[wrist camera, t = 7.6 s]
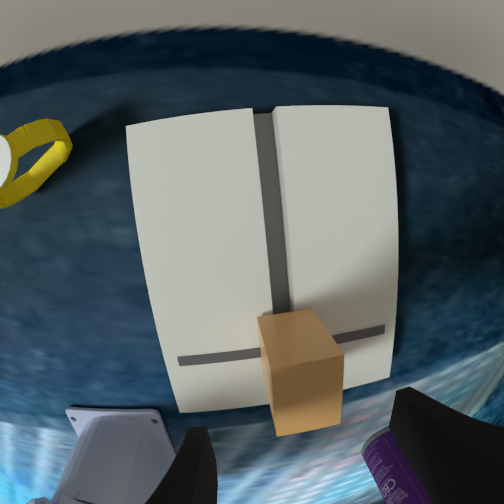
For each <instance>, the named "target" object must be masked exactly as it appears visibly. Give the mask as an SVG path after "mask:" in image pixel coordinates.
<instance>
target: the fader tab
mask: <svg viewBox="0 0 504 504" xmlns="http://www.w3.org/2000/svg"><path fill="white" fill-rule="evenodd" d="M257 323H258V332H259V341H260V350H261V359H262V368H263V377H264V382H265V386H266V391H267V395H268V400H269V404H270V408H271V413H272V417H273V421H274V426H275V430H276V434H277V437H278V436H284V435H290V434H295V433H301V432H306V431H311V430H315V429H320V428H324V427H329V426H333V425H337V424H340V423H341V410H342V396H343V379H344V353H343V352H342V350H341V349H340V347H339V346H338V345H337V343H336V342H335V340H334V339H333V337H332V336H331V335H330V333H329V332H328V330H327V329H326V328H325V326H324V325H323V323H322V322H321V320H320V319H319V318H318V316H317V315H316V313H315V312H314V311H313V309H307V310H300V311H294V312H287V313H281V314H274V315H267V316H259V317H257Z"/></svg>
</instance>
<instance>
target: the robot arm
mask: <svg viewBox="0 0 504 504" xmlns="http://www.w3.org/2000/svg"><path fill="white" fill-rule="evenodd" d="M66 414H67V416H68V418H69V420H70V422H71V424H72V426H73V427H74V429H75V431H76V433H77V435H78V437H79V438H78V441H77V443H76V445H75V447H74V449H73V451H72V454H71V456H70V458H69V460H68V463H67V465H66V467H65V469H64V472H63V474H62V476H61V479H60V481H59V483H58V486H57V488H56V491H55V493H54V495H53V498H52V500H51V501H50V500H49V499H47V498H45V497H41V498H38V499H31V500H30V501H29V502H28V503H27V504H217V489H218V480H217V466H216V459H215V455H214V452H213V448H212V445H211V441H210V438H209V434H208V430H207V427H193V428H189V429H188V430H187V432H186V435H185V437H184V440H183V442H182V444H181V446H180V448H179V450H178V452H177V454H175V452H174V449H173V447H172V444H171V442H170V439H169V436H168V434H167V431H166V429H165V426H164V423H163V421H162V418H161V415H160V413H159V412H158V411H157V410H155V409H98V408H79V407H68V408H67V409H66ZM153 419H155V420H157V421H154V420H153ZM389 428H390V430H391V433H392V435H393V437H394V439H395V441H396V444H397V446H398V447H399V449H400V451H401V452H402V454H403V455H404V457H405V458H406V460H407V461H408V463H409V464H410V466H411V467H412V469H413V470H414V472H415V474H416V475H417V477H418V478H419V480H420V481H421V483H422V484H423V486H424V488H425V490H426V492H427V494H428V496H429V498H430V500H431V502H432V504H504V427H501V426H496V425H493V424H489V423H486V422H483V421H480V420H477V419H474V418H472V417H469V416H467V415H465V414H462V413H460V412H458V411H456V410H454V409H451V408H449V407H447V406H445V405H443V404H442V403H440V402H438V401H436V400H434V399H432V398H430V397H428V396H427V395H425V394H423V393H421V392H419V391H417V390H415V389H413V388H411V387H407V388H404V389H400V390H397V391H396V396H395V401H394V406H393V411H392V415H391V420H390V425H389Z"/></svg>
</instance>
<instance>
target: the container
mask: <svg viewBox="0 0 504 504" xmlns="http://www.w3.org/2000/svg"><path fill="white" fill-rule="evenodd" d="M362 456H363V458H364V460H365V462H366V464H367V466H368V468H369V470H370V472H371V474H372V476H373V478H374V480H375V482H376V484H377V486H378V488H379V490H380V492H381V494H382V496H383V498H384V500H385V502H386V504H432V502H431V500H430V498H429V496H428V494H427V492H426V490H425V488H424V486H423V484H422V483H421V481H420V480H419V478H418V477H417V475H416V474H415V472H414V470H413V469H412V467H411V466H410V464H409V463H408V461H407V460H406V458H405V457H404V455H403V454H402V452H401V451H400V449H399V447H398V446H397V444H396V441H395V439H394V437H393V435H392V433H391V430H390V428H389V427H387V428H384V429H382V430H380V431H379V432H377V433H376V434H374V435H373V436H372V437H370V438H369V439H368V440H367V442H366V443H365V444H364V446H363V448H362Z"/></svg>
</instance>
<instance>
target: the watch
mask: <svg viewBox="0 0 504 504" xmlns="http://www.w3.org/2000/svg"><path fill="white" fill-rule="evenodd" d="M51 141H55V144H54V145H53V146H52V147H51V148H50V149H49V150H48V151H47V152H46V153H45V154H44V155H43V156H42V157H41V158H40V159H39V160H38V162H37V163H36V164H35V165H34V166H33V167H32V168H31V169H30V170H29V171H28V172H27V173H25V174H23V175H22V176H20V177H19V178H17V179H16V180H14V181H13V182H12V180H13V178H14V176H15V173H16V170H17V164H18V158H20V157H21V156H23V155H24V154H25V153H27V152H28V151H30V150H31V149H33V148H35V147H38V146H40V145H43V144H46V143H49V142H51ZM72 146H73V145H72V142H71V140H70V137H69V136H68V134H67V132H66V131H65V129H64V127H63V125H62V124H61V122H60V121H57V120H52V119H41V120H38V121H35V122H31V123H28V124H25V125H24V126H21V127H19V128H18V129H16V130H15V131H13V132H12V133H10V134H9V135H7V136H5V135H0V208H5V207H8V206H10V205H12V204H15V203H17V202H19V201H21V199H22V200H23V199H24V198H26V197H27V196H29V195H30V194H32V193H33V192H35V191H36V190H37V189H38V188H39V187H40V186H41V185H42V184H43V183H44V182H45V181H46V180H47V179H48V178H49V177H50V176H51V174H52V173H53V172H54V171H55V170H56V169H57V168H58V167H60V166H61V165H62V164H63V163H64V162H66V161H67V159H68V156H69V154H70V152H71V150H72Z"/></svg>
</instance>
